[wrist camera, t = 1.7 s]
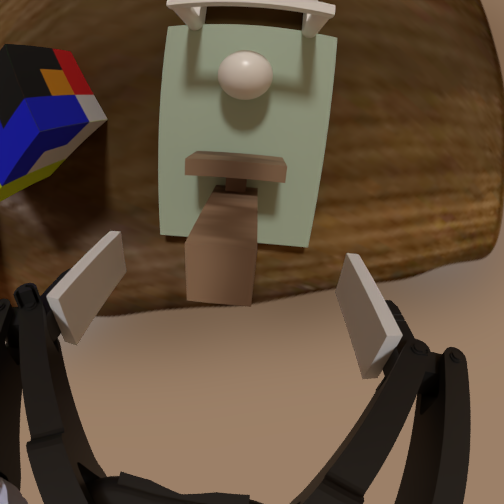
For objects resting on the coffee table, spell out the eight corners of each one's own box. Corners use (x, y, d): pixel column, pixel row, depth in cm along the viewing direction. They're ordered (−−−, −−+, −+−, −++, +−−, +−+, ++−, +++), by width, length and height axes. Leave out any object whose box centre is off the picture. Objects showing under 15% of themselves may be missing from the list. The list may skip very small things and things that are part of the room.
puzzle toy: (107, 119, 21) (39, 131, 13) (50, 175, 24) (-11, 207, 15) (71, 51, 17) (5, 43, 8) (19, 112, 20) (-43, 127, 11)
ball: (219, 99, 20) (211, 96, 16) (223, 55, 18) (216, 43, 14) (269, 103, 20) (271, 100, 16) (273, 58, 18) (277, 47, 14)
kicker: (195, 221, 24) (157, 296, 15) (197, 150, 21) (148, 184, 12) (273, 227, 25) (283, 308, 15) (282, 157, 22) (303, 195, 12)
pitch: (165, 228, 27) (137, 268, 20) (182, -23, 14) (158, -59, 8) (305, 240, 27) (319, 284, 20) (335, -13, 15) (361, -47, 8)
